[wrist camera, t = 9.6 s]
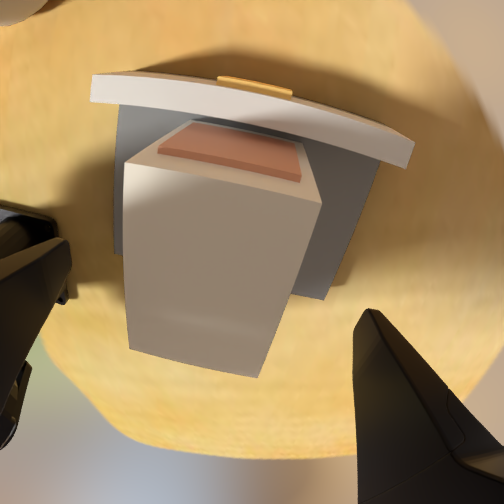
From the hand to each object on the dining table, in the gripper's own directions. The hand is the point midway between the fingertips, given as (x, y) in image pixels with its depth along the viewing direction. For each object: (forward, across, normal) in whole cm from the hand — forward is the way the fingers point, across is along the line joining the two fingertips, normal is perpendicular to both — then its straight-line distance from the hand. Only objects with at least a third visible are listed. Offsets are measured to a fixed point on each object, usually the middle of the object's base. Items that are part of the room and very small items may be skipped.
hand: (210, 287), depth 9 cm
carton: (+6, 0, 0) cm, 6 cm away
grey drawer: (+7, 0, 0) cm, 7 cm away
